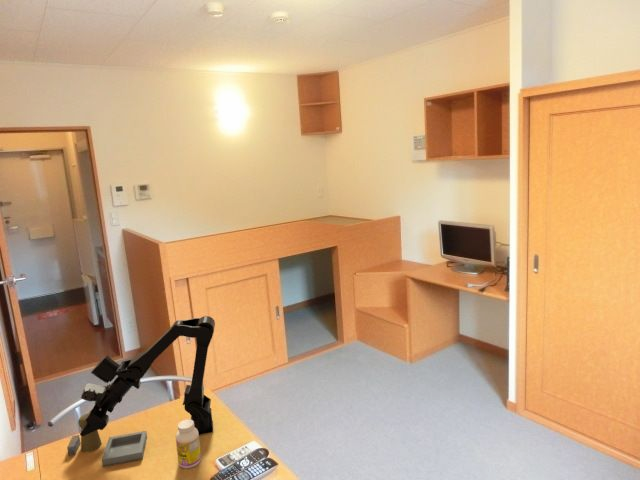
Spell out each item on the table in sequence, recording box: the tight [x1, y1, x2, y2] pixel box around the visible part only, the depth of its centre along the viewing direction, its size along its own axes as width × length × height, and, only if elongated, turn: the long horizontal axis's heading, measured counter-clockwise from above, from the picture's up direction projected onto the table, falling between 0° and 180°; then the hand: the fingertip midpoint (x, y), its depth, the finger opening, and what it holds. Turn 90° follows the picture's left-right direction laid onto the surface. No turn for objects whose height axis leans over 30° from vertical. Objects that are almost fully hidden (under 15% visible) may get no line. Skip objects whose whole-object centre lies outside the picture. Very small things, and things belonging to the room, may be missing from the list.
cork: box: [77, 413, 103, 453], centre depth 144 cm, size 6×6×11 cm
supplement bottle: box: [175, 418, 202, 469], centre depth 134 cm, size 7×7×13 cm
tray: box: [101, 430, 148, 468], centre depth 141 cm, size 11×11×2 cm
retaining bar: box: [66, 434, 81, 457], centre depth 143 cm, size 2×6×3 cm, turn 14°
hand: (84, 426), depth 143 cm, fingers open, 9 cm apart
